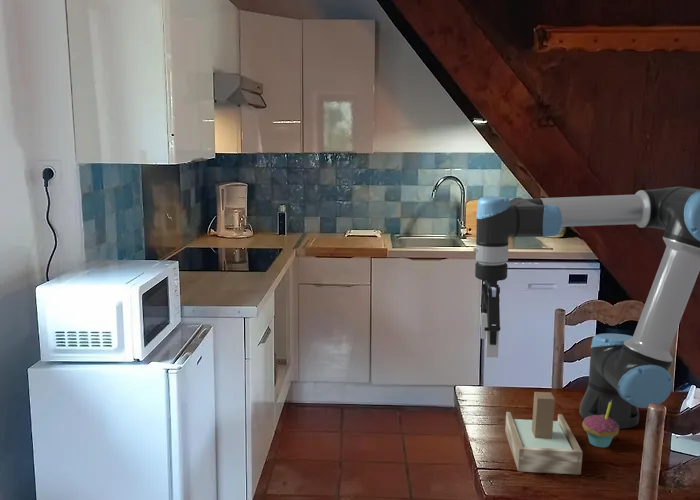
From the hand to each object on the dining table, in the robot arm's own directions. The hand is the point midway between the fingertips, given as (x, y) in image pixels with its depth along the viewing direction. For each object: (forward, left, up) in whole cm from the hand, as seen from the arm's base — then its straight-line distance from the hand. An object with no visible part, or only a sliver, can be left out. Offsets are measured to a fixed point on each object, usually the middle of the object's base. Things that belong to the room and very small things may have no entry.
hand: (488, 347), depth 162 cm
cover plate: (-13, +5, -21) cm, 25 cm away
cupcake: (-29, -1, -25) cm, 38 cm away
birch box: (-13, +5, -24) cm, 28 cm away
